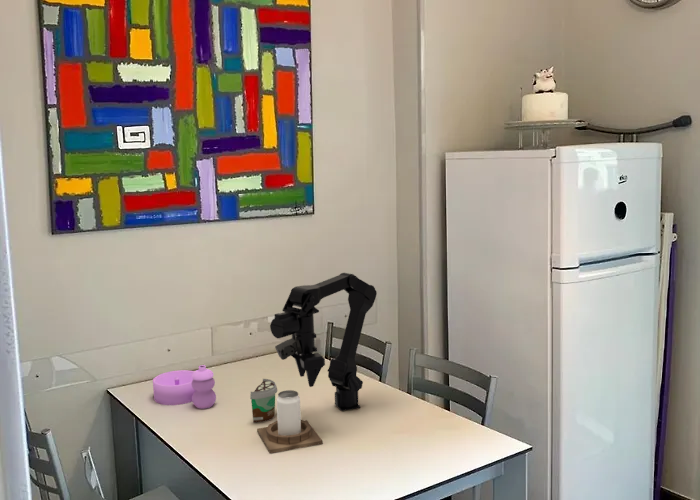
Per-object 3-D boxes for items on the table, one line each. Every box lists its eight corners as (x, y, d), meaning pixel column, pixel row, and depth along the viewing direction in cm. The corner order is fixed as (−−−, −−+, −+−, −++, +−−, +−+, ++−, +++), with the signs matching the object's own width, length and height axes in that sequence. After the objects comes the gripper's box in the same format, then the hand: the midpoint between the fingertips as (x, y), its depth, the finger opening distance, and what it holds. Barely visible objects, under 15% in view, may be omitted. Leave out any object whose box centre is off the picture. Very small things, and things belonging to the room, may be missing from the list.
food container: (271, 425, 208) (269, 393, 206) (251, 424, 209) (249, 392, 208) (283, 409, 220) (282, 378, 218) (264, 408, 221) (263, 377, 219)
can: (304, 430, 201) (303, 390, 199) (295, 440, 195) (294, 399, 193) (283, 428, 203) (282, 388, 201) (274, 437, 197) (272, 396, 195)
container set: (144, 398, 232) (141, 360, 230) (182, 385, 244) (179, 348, 242) (192, 416, 217) (190, 375, 214) (230, 401, 228) (228, 362, 226)
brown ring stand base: (306, 423, 209) (306, 413, 208) (322, 443, 195) (322, 433, 195) (257, 431, 204) (256, 422, 203) (269, 453, 190) (269, 443, 190)
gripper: (269, 325, 210) (271, 375, 213) (285, 342, 193) (288, 396, 196) (305, 320, 214) (307, 369, 217) (324, 337, 197) (326, 390, 200)
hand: (306, 381), depth 207 cm, fingers open, 9 cm apart
